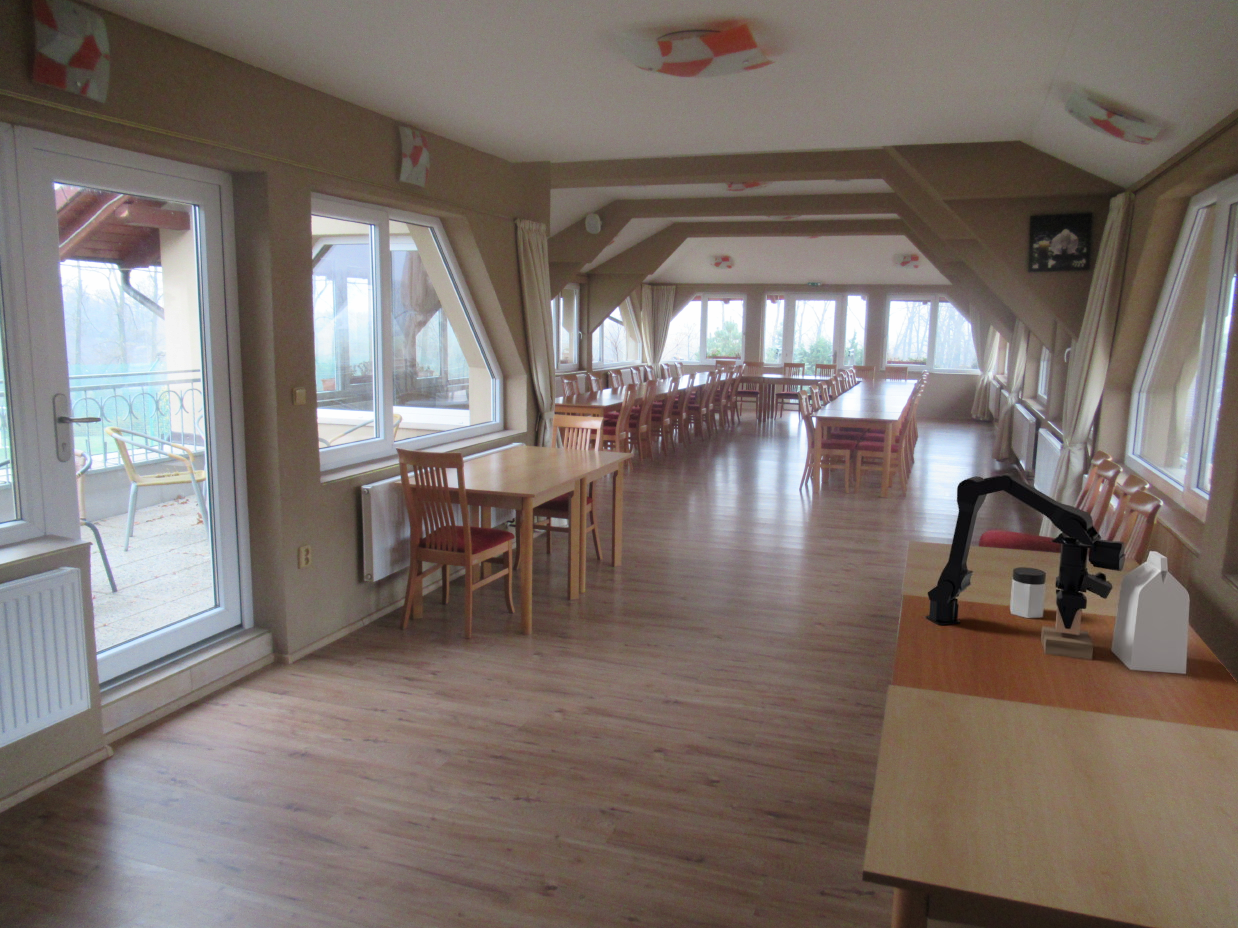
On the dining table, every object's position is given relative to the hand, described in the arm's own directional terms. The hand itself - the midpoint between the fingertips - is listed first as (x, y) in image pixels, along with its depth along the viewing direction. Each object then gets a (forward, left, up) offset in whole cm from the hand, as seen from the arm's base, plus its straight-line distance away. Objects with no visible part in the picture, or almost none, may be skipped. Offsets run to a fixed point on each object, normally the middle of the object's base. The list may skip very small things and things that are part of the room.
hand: (1067, 625), depth 206 cm
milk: (+13, -11, -6) cm, 18 cm away
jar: (+9, +25, -6) cm, 27 cm away
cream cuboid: (0, 0, -1) cm, 1 cm away
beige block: (0, 0, -6) cm, 7 cm away
